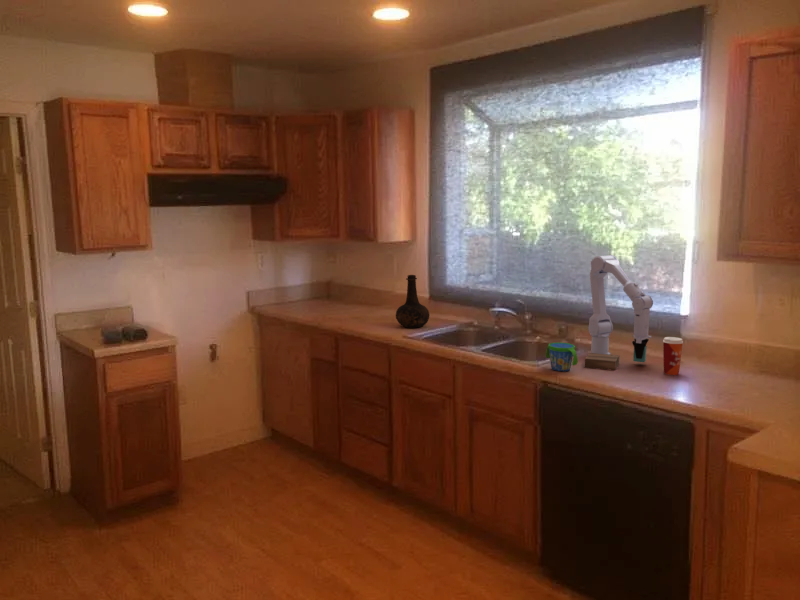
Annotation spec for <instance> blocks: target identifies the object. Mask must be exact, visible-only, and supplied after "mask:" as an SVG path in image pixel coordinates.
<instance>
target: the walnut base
mask: <svg viewBox="0 0 800 600" xmlns="http://www.w3.org/2000/svg"><path fill="white" fill-rule="evenodd" d="M619 365H620V355H619V354H618V355H617V354H610V355H608V354H597V353H591V352H590V353H588V355H587V356H586V357H585V358H584V368H586V367H589V368H588V369H596V368H600V370H607V369H611V371H616V369H618V366H619Z"/></svg>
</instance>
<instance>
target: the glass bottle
mask: <svg viewBox="0 0 800 600" xmlns="http://www.w3.org/2000/svg"><path fill="white" fill-rule="evenodd" d="M417 279H418V278H417V275H414V274H408V275H407V278H406V279H405V280H407V285H406V286H407V289H406V300H405V302H404V304H402V305H400V306H399V307H398V308H397V310H396V312H395V319H396V321H397V322H398V323H399V325H400V326H402V327H403V328H407V329H417V328H422V327H423V326H425V325H426V324H427V323H428V321H429V319H430V311H429V309H428V308H427V306H425V305H423V304H421V303H420V301H419V298H418V293H417V292H418V291H417Z"/></svg>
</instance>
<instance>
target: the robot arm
mask: <svg viewBox="0 0 800 600" xmlns="http://www.w3.org/2000/svg"><path fill="white" fill-rule="evenodd" d="M608 273H609V274H612V275H613V276H614V277H615V278H616V279H617V281H619V283H621V285H622V286H623V289H622V290H623V291H624V293H625V294H626V296H627V297H628V298H629V299H630V301H631V307H632V308H633V313H634V322H633V335H632V337H633V338H634V339H633V341H631V342H632V345H633V349H634V348H635V354H636V358H637V359H642V356H643V352H644V348H645V346H647V344H648V343H649V339H651V338H652V335H649V329H650V328H649V327H650V312H651V311H650V309H652V308H653V305H654V300H653V298H652V296H650V295H648V294H646V293H645V292H643V290H642V288H640V286H639V283H638V282H635V281H632V280H630V278H629V277H628V275H627V274H626V272H625V271H624V270H623V268H622V267H621V264H620V261H619V259H618V258H617V257H616V256H615V255H613V254H609V255H595V257H593V258H592V260H591V261H590V272H589V280H590V292H591V303H592V312H593V313H592V315H591V316H590V317H589V319H588V321H589V322H588V323H589V324H588V326H587V327H588V328H587V329H588V333H589V334H590V337H591V344H590V345H591V346H590V349H591V350H590V353H597V354H608V355H612V354H611V352H609V347H610V340H609V339H610V338H609V337H610V336H611V333H612V332H613V330H614V325H613V322H612V321H611V316H610V315H609V314H608V313H607V305H606V293H605V281H604V277H605V276H606V275H607V274H608Z"/></svg>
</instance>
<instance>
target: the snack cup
mask: <svg viewBox="0 0 800 600" xmlns="http://www.w3.org/2000/svg"><path fill="white" fill-rule="evenodd" d="M575 349H576V346H575V345H574V344H572V343H568V342H549V343H548V345H547V347H546V350H545V358H546V359H549V361H550V367H551V370H554V371H558V372H568V371H570V370H571V366H576V365H577V364H578V355H577V351H576V350H575Z"/></svg>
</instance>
